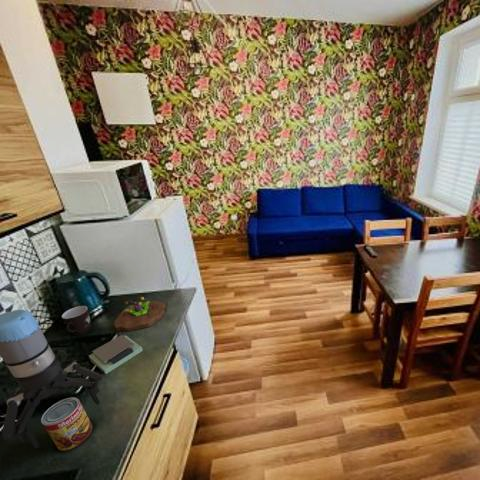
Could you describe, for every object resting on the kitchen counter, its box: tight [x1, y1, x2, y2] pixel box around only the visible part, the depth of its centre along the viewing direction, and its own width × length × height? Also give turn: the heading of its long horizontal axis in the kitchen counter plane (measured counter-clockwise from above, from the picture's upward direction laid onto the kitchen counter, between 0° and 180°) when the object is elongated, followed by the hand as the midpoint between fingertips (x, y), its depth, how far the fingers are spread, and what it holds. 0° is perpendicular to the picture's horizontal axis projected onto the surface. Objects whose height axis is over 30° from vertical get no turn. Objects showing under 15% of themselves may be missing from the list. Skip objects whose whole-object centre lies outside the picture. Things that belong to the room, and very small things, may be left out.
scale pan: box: [91, 334, 135, 364], centre depth 104 cm, size 10×10×1 cm
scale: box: [88, 335, 144, 375], centre depth 105 cm, size 13×13×5 cm
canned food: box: [40, 396, 93, 451], centre depth 76 cm, size 8×8×12 cm
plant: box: [113, 296, 167, 333], centre depth 126 cm, size 20×20×11 cm
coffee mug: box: [61, 305, 93, 336], centre depth 116 cm, size 12×9×10 cm
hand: (68, 421), depth 75 cm, fingers open, 13 cm apart
